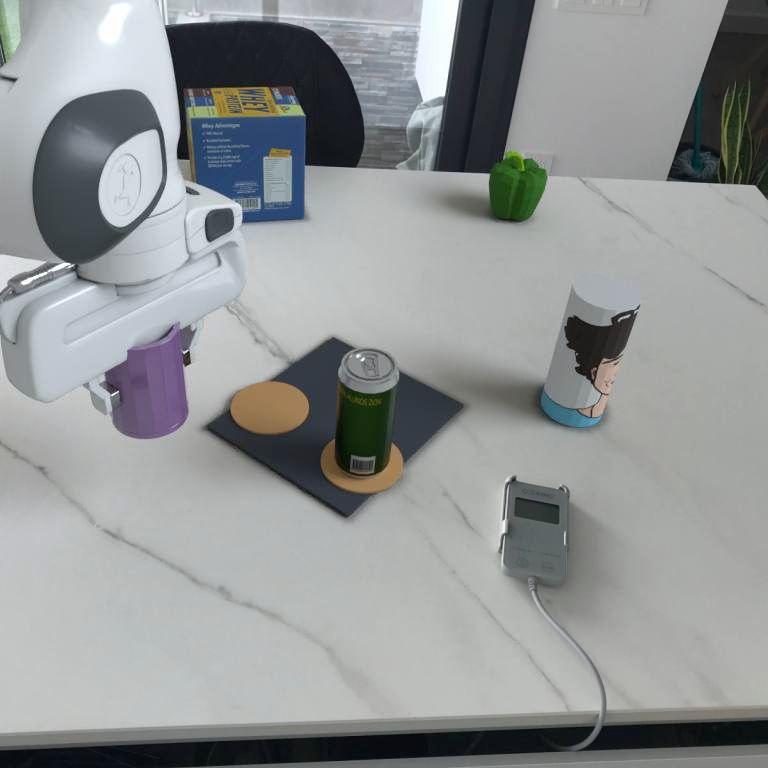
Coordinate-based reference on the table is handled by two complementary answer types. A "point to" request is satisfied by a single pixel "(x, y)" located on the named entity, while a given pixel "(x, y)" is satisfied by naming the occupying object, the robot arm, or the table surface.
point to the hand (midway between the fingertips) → (146, 384)
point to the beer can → (365, 412)
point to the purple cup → (151, 388)
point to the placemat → (325, 427)
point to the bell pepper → (516, 187)
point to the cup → (589, 347)
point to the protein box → (249, 148)
